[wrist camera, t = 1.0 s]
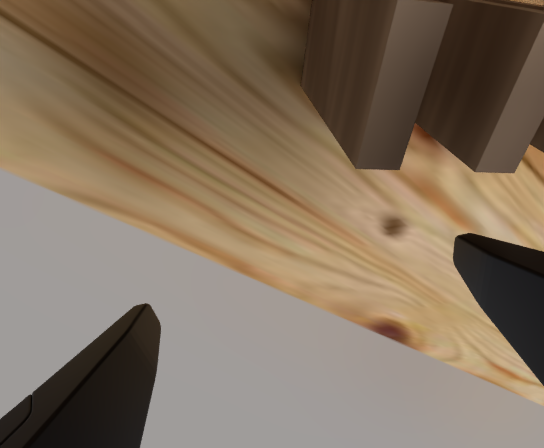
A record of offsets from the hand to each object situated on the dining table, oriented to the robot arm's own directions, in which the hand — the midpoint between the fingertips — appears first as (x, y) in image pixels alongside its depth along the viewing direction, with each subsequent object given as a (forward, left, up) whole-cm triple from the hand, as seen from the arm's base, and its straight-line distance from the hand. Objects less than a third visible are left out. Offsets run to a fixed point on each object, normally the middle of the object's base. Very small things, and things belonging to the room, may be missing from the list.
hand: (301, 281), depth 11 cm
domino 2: (-2, +9, -13) cm, 16 cm away
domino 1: (-3, +4, -13) cm, 14 cm away
